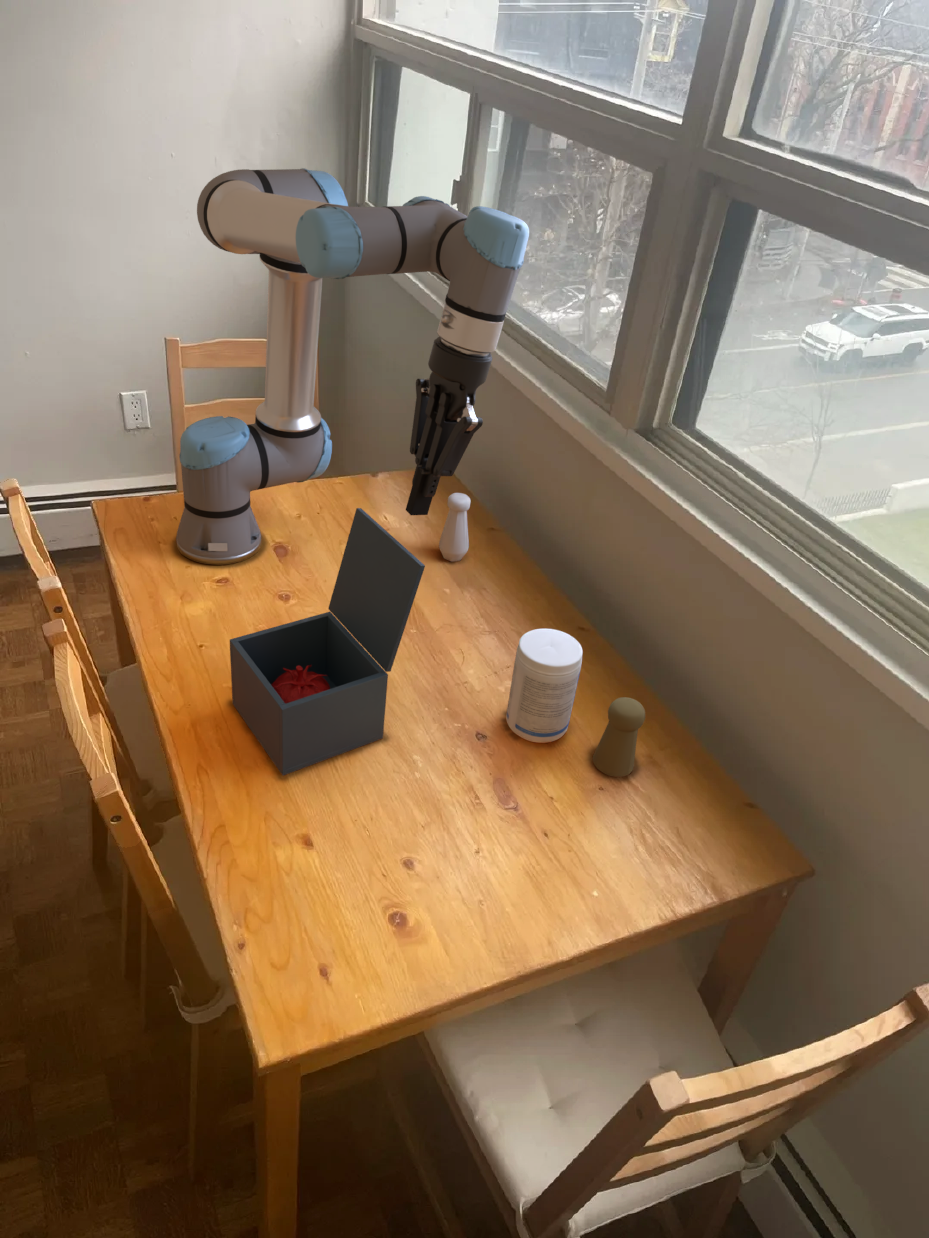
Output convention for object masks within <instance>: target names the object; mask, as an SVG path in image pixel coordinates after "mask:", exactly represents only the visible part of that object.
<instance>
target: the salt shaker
mask: <svg viewBox="0 0 929 1238" xmlns="http://www.w3.org/2000/svg"><path fill="white" fill-rule="evenodd" d="M471 503H472V502H471V498H470V496H468V495H467V494H466V493H462V492H454V493H453V492H452V493H451V494H450V495H449V496H448V497H447V507H448V513H447V516H446V518H445V519H446V520H445V521H444V526H443V528H442V532H441V535H440V538H439V542H438V548H439V550H440V551H439V552H441V555H442V559H444V560H447V561H449V562H453V563H454V562H460V561H461V560H462V559H463V558H464V556H465V555H466V554H467V553H468V551H469V547H470V542H469V539H470V538H469V525H468V511H469V509H470V507H471Z"/></svg>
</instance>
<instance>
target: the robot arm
mask: <svg viewBox="0 0 929 1238" xmlns="http://www.w3.org/2000/svg"><path fill="white" fill-rule="evenodd" d="M196 216H197V222H198V225H199V227H200V230H201V232H202V233H203V235H204V236H205V238H206V239H207V240H208V241H209V242H210V243H211V244H212V245H213V246H215V247H216V248H218V249H219V250H221V251H224V252H228V253H232V254H235V255H259V260H260V262H261V263H262V264H263V265H264V267H265V268H266V269H267V270H268V283H267V284H268V287H267V312H266V313H267V314H266V315H267V317H266V343H265V345H266V347H265V376H264V377H265V378H264V382H265V383H264V401H263V402H261V403H260V404H259V405H257V407H256V409H255V416H254V417H255V419H254V420H255V421H254V423H251V424H247V423H246V422H245V421H244V420H242V418H241V419H240V418H239V417H235V416H230V415H227V416H225V417H224V416H223V415H217V416H209V417H205V418H202V419H199V420H197V421H195V422H193V423H191V424H189V425H188V426H187V427H186V428H185V430H184V431H183V432H182V434H181V436H180V440H179V442H180V443H179V444H180V445H179V448H180V451H179V463H180V469H181V480H182V491H183V503H184V504H183V511H182V514H181V518H180V521H179V524H178V527H177V531H176V537H175V539H176V548H177V550H178V551H179V552H178V553H180V554H181V555H182V556H184V557H185V558H187V559H189V560H190V561H192V562H193V561H194V562H196V563H200V564H205V565H215V566H217V565H218V566H221V565H222V566H223V565H230V564H236V563H240V562H243V561H246V560H248V559H249V558H252V557H253V556H255V555H256V554H257V553H258V552H259V551H260V549H261V548H262V533H261V529H260V526H259V524H258V521H257V520H256V516H255V514H254V511H253V509H252V506H251V492H254V491H259V490H263V489H268V488H274V487H278V486H279V487H280V486H283V485H287V484H293V483H304V482H306V481H308V480H313V479H317V478H318V477H320V476H322V475H323V474H324V473H325V472H326V470H327V469H328V467H329V465H330V463H331V458H332V455H333V454H332V453H333V442H332V439H331V430H330V427H329V425H328V424H327V422H326V420H325V419H324V418H323V417H322V414H321V412H320V410H319V409H317V408H316V407H315V405H314V403H315V392H316V390H315V389H316V375H317V363H318V349H319V347H318V346H319V335H320V319H321V308H322V307H321V305H322V293H323V292H322V291H323V290H322V289H323V279H331V280H332V279H333V280H343V279H345V278H352V277H364V276H377V275H378V276H379V275H399V274H400V275H401V274H413V273H414V274H415V273H429V272H430V273H435V274H436V275H439V276H440V277H442V278H443V279H445V280H447V281H448V282H449V284H448V288H447V289H448V290H447V293H446V295H445V299H444V306H443V310H442V312H441V317H440V319H439V324H438V327H437V330H436V333H437V335H438V337H437V338H435V339H434V340H433V343H432V347H431V350H430V354H429V358H428V361H427V364H428V368H429V370H430V371H431V372H430V374H429V377H428V378H416V380H415V394H416V395H415V396H416V398H415V404H414V405H415V406H414V413H413V420H412V421H413V422H412V429H411V437H410V444H409V452H410V455H414V457H415V458H414V459H415V460H414V462H415V464H416V465H415V470H414V473H413V476H412V481H411V484H412V486H411V489H410V492H409V493H410V494H409V495H408V500H407V502H406V507H405V511H406V513H408V514H409V516H428V514H429V511H430V507H431V505H432V500H433V498H434V497H435V495H436V493H437V490H438V486H439V483H440V480H441V477H453V475H454V474H455V472H456V470H457V468H458V466H459V464H460V462H461V460H462V458H463V456H464V454H465V452H466V450H467V448H468V446H469V444H470V442H471V441H472V439H473V436H474V434H475V433H476V432H478V430H479V429H480V428H482V426H483V424H484V420H483V418H482V417H480V416H476V413H475V409H474V406H475V404H476V393H477V389H478V388H479V387H480V386H482V385H483V384H485V383H486V381H487V378H488V374H489V371H490V368H491V364H492V362H493V355H492V354H491V353H494V352H495V351H496V350H497V347H498V344H499V340H500V336H501V333H502V330H503V326H504V323H505V319H506V315H507V312H508V309H509V305H510V302H511V299H512V296H513V293H514V290H515V287H516V283H517V280H518V278H519V274H520V271H521V268H522V267H523V264H524V262H525V254H526V251H527V246H528V243H529V238H530V237H529V236H530V227H529V226H528V224H527V223H526V222H525V221H524V220H523V219H521V218H519V217H517V216H516V215H515V216H514V215H511V214H508V213H507V212H505V211H502V210H500V209H499V210H498V209H495V208H492V207H487V206H482V205H476V206H474V207H473V206H472V208H471V209H470V210H469V212H468V215H466V214H464V213H463V212H462V211H459V210H457V209H455V208H454V207H453V206H450V204H448V203H446V202H444V201H443V200H441V199H435V198H432V197H430V196H426V195H420V196H415V197H413V198H411V199H409V200H408V201H407V202H405V203H403V204H402V205H388V206H387V205H386V206H351V205H350V206H349V203H348V200H347V197H346V195H345V192H344V190H343V187H342V186H341V184H340V183H339V181H338V180H337V179H336V178H335V177H334V176H333V175H332V174H331V173H328V172H327V171H325V170H313V169H307V168H306V167H305V168H303V167H301V168H297V169H296V168H289V169H287V168H286V169H282V168H281V169H279V168H278V169H277V168H276V169H249V168H248V169H244V168H243V169H234V170H229V171H226V172H222V173H221V174H218V175H217V176H215V177H213V178H212V179H211V180H210V181H208V182H207V183H206V185H205V186H204V187H203V188H202V190H201V191H200V194H199V197H198V200H197V203H196Z"/></svg>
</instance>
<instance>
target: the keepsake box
mask: <svg viewBox="0 0 929 1238" xmlns="http://www.w3.org/2000/svg"><path fill="white" fill-rule="evenodd" d="M229 658H230V679H231V681H230V682H231V698H232V699H231V701H232V705H233V707H234V708H235V710H236V711H237V713H238V714H239V715H240V717H241V718H242V719H243V721H244V722H245V724H246V725H247V727H248V728H249V730H250V731H251V732H252V734H253V735H254V737H255V738H256V740H257V742H258V743H259V744H260V745H261V747H262V748H263V750H264V751H265V753H266V754H267V755H268V757H269V758H270V760H271V761H272V763H273V764H274V766H275V767H276V768H277V770H278V772H279V773H280V775H282V776H283V777H284V776H286V775H289V774H292V773H294V772H297V771H300V770H302V769H305V768H309V767H310V766H313V765H315V764H318V763H320V762H324V761H326V760H329V759H331V758H334V757H337V756H340V755H342V754H344V753H347V752H351V751H353V750H356V749H358V748H361V747H364V746H366V745H369V744H372V743H374V742H377V741H379V740H383V738H384V731H385V729H384V728H385V718H386V717H385V716H386V705H387V692H388V682H389V681H388V680H389V678H388V677H389V674H388V672H386V671H385V670H384V669H383V668H382V667H381V666H380V665H379V664H378V662H377V661H376V660H375V659H374V658H373V657H372V656H371V655H370V654H369V653H368V652H367V650H366V649H365V648H364V647H363V646H362V645H361V644H360V643H359V642H358V641H357V640H356V639H355V637H354V636H353V635H352V634H351V633H350V632H349V631H348V630H347V629H346V628H345V627H344V625H343V624H342V623H341V622H340V621H339V620H338V619H337V618H336V617H335V616H334V615H333V613H332V612H331V611H327V612H323V613H318V614H316V615H312V616H308V617H305V618H301V619H298V620H295V621H290V622H288V623H284V624H280V625H277V626H273V627H270V628H265V629H262V630H259V631H255V632H252V633H248V634H244V635H240V636H237V637H234V638H233V637H232V638H230V639H229ZM298 665H299V666H301V667H302V668H303V671H304V670H305V668H306V666H310V665H311V667H309V668H308V670H307V672H315V673H317V674H321V675H328V676H322V677H323V678H324V679H325V680H326V681H327V682H328V684H329V686H330V689H329V690H326V691H323V692H320V693H317V694H314V695H310V696H307V697H304V698H301V699H298V700H295V701H292V702H289V703H286V704H285V703H284V701H283V700H282V699H281V697H280V696H279V695H278V693H277V692H276V691H275V689H274V688H273V687H272V685H271V684H272V683H273V682H274V681H275V680H276V679H277V678H278V677H279V676H280V675H282V674H283V673H285V672H287V671H285V670H284V669H283V667H284V668H285V669H289V670H296V666H298Z"/></svg>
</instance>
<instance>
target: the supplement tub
mask: <svg viewBox="0 0 929 1238" xmlns="http://www.w3.org/2000/svg"><path fill="white" fill-rule="evenodd" d="M583 653H584V651H583V647H582V644H581V643H580V642H579V641H578V640H577V639H576V637H574V636H572V635H571V634H569V633H567V632H565V631H561V630H559V629H555V628H536V629H532V630H529V631H527V632H525V633H524V634H522V636H521V637H520V638H519V641H518V645H517V647H516V652H515V658H514V665H513V669H512V670H513V671H512V677H511V683H510V689H509V695H508V701H507V707H506V714H505V715H506V716H505V718H506V719H505V720H506V723H507V725H508V727H509V729H510V730H511V731H512V732H513V733H514V734H515V735H517V736H518V737H520V738H522V739H523V740H525V741H529V742H532V743H539V744H545V743H551V742H555V741H557V740H559V739H561V738H562V737H563V736H564V735H565V734H566V733H567V731H568V730H569V729H568V728H569V725H570V719H571V715H572V712H573V711H572V710H573V706H574V703H575V698H576V693H577V689H578V684H579V680H580V675H581V670H582V662H583Z"/></svg>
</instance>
